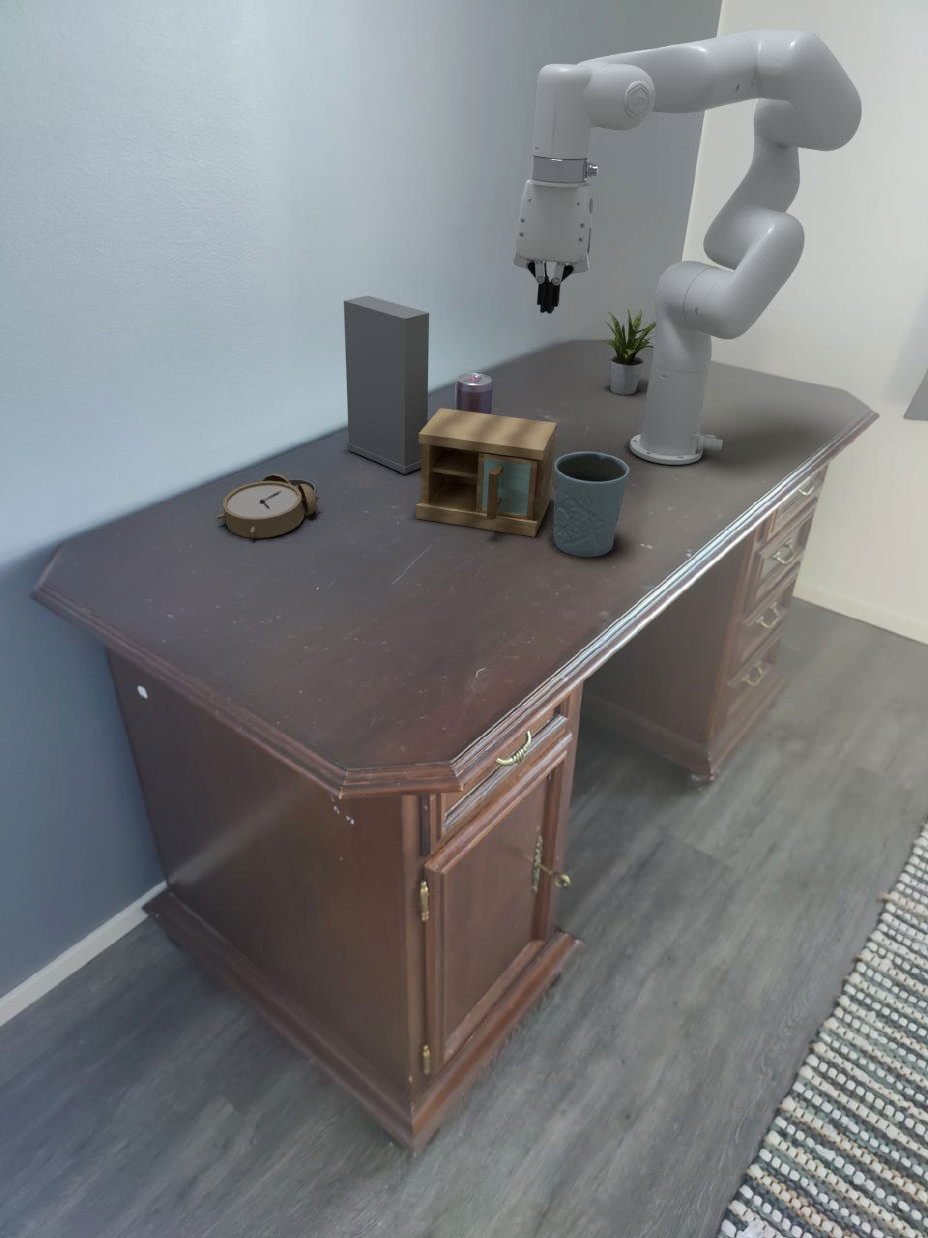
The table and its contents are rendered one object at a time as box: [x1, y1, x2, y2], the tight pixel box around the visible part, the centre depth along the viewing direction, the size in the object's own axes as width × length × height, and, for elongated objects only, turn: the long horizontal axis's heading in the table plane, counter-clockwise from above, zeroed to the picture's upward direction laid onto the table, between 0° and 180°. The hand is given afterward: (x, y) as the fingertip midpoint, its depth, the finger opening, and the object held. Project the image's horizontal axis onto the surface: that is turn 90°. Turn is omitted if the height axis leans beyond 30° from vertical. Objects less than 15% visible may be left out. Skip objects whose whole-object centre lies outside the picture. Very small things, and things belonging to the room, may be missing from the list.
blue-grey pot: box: [552, 451, 630, 558], centre depth 125 cm, size 10×10×12 cm
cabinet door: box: [476, 452, 538, 521], centre depth 126 cm, size 8×5×9 cm, turn 75°
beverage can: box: [453, 372, 494, 415], centre depth 145 cm, size 6×6×15 cm
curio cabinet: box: [415, 407, 558, 538], centre depth 132 cm, size 18×12×13 cm, turn 75°
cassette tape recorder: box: [343, 295, 430, 475], centre depth 144 cm, size 14×6×25 cm, turn 48°
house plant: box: [599, 309, 656, 396], centre depth 179 cm, size 14×14×16 cm
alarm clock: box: [216, 473, 321, 539], centre depth 131 cm, size 11×5×15 cm
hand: (547, 310), depth 131 cm, fingers closed
